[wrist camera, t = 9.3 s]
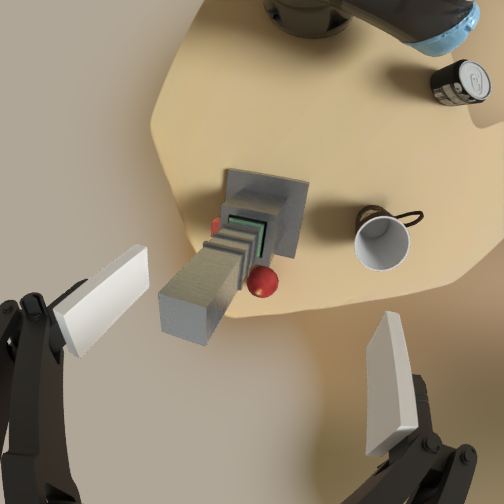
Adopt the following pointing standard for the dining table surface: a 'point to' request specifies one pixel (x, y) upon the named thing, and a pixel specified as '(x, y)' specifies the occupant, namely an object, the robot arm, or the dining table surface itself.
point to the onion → (262, 282)
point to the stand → (266, 209)
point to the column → (210, 280)
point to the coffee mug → (382, 238)
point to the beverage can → (461, 83)
